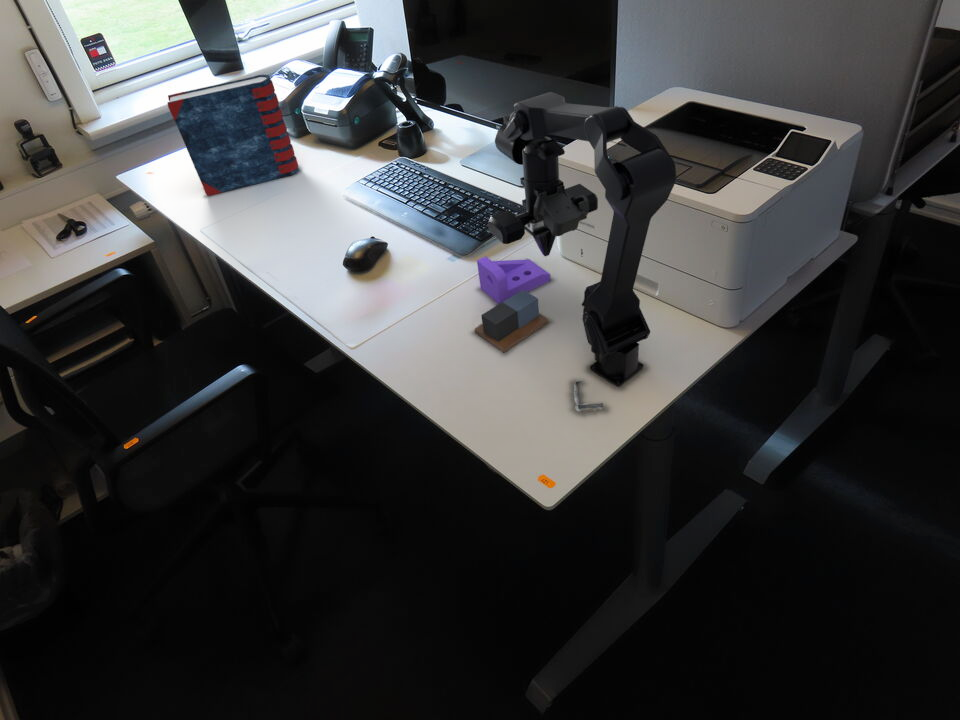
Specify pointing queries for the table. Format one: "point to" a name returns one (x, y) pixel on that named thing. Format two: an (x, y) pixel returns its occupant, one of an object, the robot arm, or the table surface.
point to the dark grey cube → (500, 321)
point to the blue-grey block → (524, 307)
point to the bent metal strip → (585, 406)
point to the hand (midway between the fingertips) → (545, 254)
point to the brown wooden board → (514, 333)
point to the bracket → (509, 277)
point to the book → (234, 133)
